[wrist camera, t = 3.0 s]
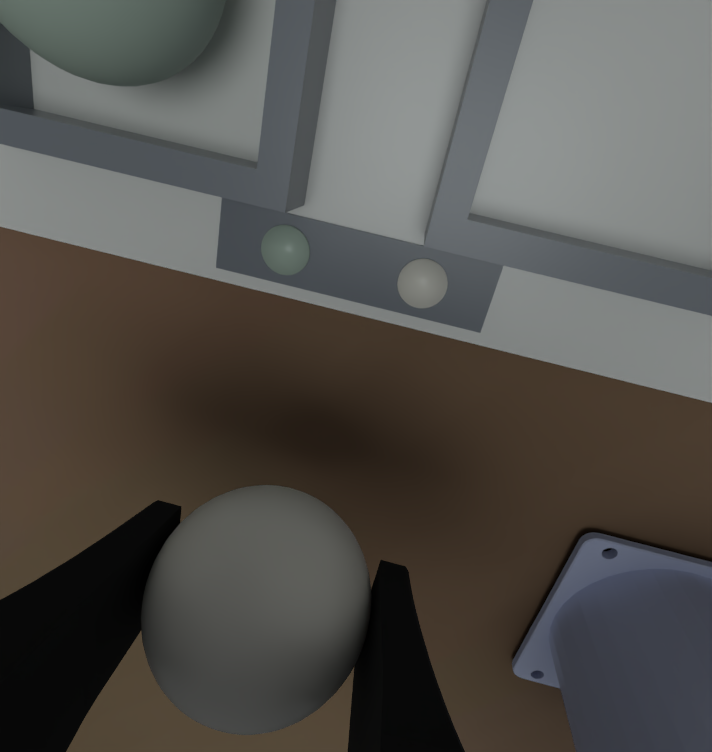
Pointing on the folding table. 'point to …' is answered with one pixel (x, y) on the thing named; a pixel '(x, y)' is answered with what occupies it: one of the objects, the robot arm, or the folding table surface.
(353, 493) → the folding table surface
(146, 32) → the sage ball
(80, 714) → the robot arm
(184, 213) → the ball sorting tray
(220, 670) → the ivory ball
